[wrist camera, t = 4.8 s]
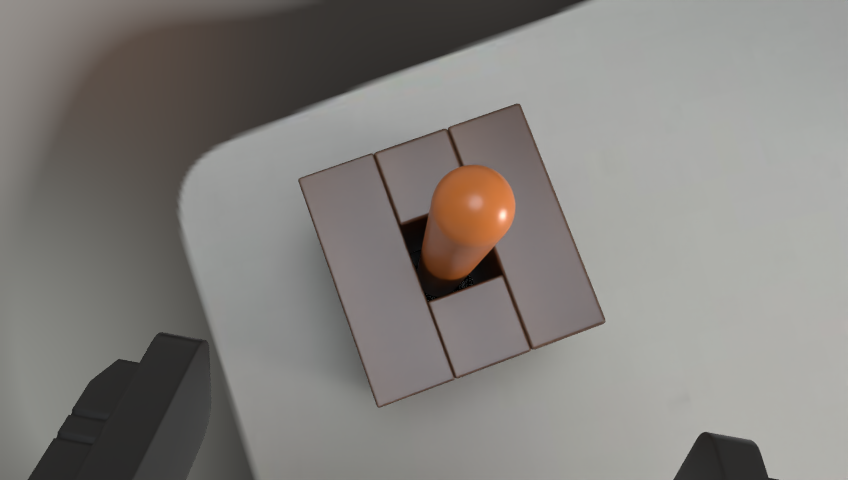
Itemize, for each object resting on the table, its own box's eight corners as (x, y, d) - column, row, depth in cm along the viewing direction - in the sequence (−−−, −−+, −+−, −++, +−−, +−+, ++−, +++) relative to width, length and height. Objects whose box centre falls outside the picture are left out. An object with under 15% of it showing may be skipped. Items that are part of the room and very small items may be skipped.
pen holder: (383, 392, 26) (377, 408, 20) (323, 221, 27) (297, 178, 20) (554, 329, 27) (607, 322, 20) (490, 163, 28) (520, 101, 21)
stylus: (425, 303, 27) (451, 254, 13) (410, 262, 27) (420, 171, 13) (466, 288, 27) (534, 224, 13) (451, 247, 27) (503, 143, 13)
